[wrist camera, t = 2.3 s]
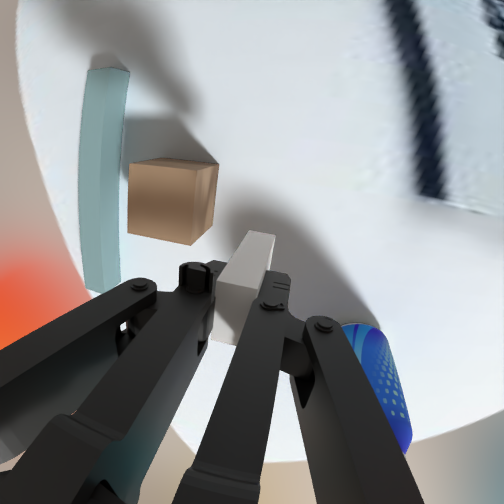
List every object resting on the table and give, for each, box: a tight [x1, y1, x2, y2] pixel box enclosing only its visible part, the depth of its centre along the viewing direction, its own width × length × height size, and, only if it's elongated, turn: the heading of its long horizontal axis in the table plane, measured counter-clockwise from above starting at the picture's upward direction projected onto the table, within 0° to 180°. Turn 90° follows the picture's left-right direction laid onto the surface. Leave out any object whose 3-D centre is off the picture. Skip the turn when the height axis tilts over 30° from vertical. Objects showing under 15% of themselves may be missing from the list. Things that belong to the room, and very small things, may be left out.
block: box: [128, 158, 219, 246], centre depth 25 cm, size 6×6×6 cm
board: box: [78, 67, 130, 294], centre depth 28 cm, size 24×3×4 cm, turn 172°
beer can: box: [341, 323, 412, 459], centre depth 24 cm, size 8×8×16 cm
